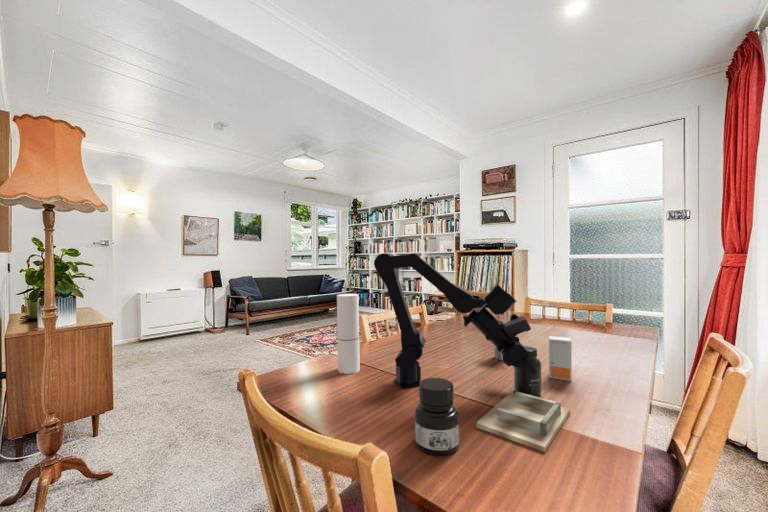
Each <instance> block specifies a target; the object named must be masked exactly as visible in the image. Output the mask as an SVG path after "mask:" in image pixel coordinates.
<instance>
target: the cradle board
mask: <svg viewBox="0 0 768 512" xmlns="http://www.w3.org/2000/svg"><path fill="white" fill-rule="evenodd" d="M561 405H562V404H561V402H559V401H555V400H550V399H547V398H543V397H539V396H537V397H536V396H532V395H528V394H524V393H520V392H517V391H515V392H514V393H512V392H510V393H509V394H507V395H506V396H505V397H503V399H502V400H501V401H499V402H498V403H497V404H496V405H495V406H493V408H491V409H490V410H489V411H488V412H487V413H486V414H484V415H483V416H482V417H481V418H480V419H479V420H478V421H476V422H475V428H477V429H479V430H483V431H485V432H488V433H490V434H493V435H496V436H498V437H502V438H504V439H507V440H510V441H513V442H514V443H518V444H521V445H524V446H526V447H529V448H532V449H534V450H537V451H539V452H542V453H546V451H547V450H548V448H549V447H550V446H551V444H552V442H553V440H554V439H555V438H556V436H557V434H558V433H559V431H560V429H561V428H562V427H563V425H564V424H565V422H566V420H567V418H568V417H569V416H570V414H571V408H568V407H565V406H561Z"/></svg>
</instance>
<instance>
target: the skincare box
mask: <svg viewBox="0 0 768 512" xmlns="http://www.w3.org/2000/svg"><path fill="white" fill-rule="evenodd" d="M548 375H549V376H548V378H549V379H555V380H562V381H567V382H572V338H571V337H564V336H551V335H549V336H548Z"/></svg>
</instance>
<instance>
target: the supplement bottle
mask: <svg viewBox="0 0 768 512" xmlns="http://www.w3.org/2000/svg"><path fill="white" fill-rule="evenodd" d="M523 346H524V347H525V348H526V350H527V351H526V357H527V358H528V360H529V361H530V363H531V364H532V365H533V367H534V368H535V369H536V371H537V373H536V374H532V373H529V372H527V371H524V370H522V369H519V368H517V367H514V366H513V388H514V391H515V392H516V391H517V392H520V393H524V394H528V395H532V396H536V397H539V396H541V395H542V362H541V361H540V359H538V358H537V357H538V349H537V348H536V347H534V346H529V345H528V346H525V345H523Z"/></svg>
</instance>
